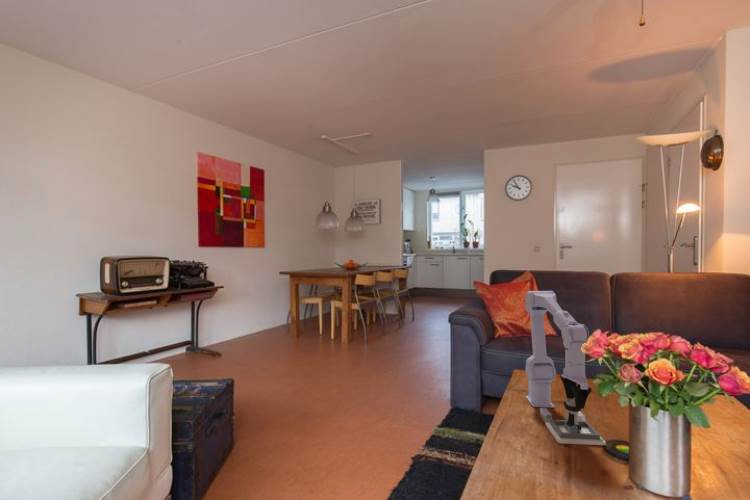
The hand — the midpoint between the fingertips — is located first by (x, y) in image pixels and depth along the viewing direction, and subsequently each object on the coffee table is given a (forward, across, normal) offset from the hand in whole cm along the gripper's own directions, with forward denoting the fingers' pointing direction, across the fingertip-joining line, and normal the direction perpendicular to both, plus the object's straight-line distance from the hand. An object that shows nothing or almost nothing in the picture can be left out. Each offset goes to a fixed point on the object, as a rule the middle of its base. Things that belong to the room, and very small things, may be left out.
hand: (575, 403), depth 125 cm
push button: (+10, 0, 0) cm, 10 cm away
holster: (+10, -10, 0) cm, 14 cm away
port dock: (+10, 0, 0) cm, 10 cm away
